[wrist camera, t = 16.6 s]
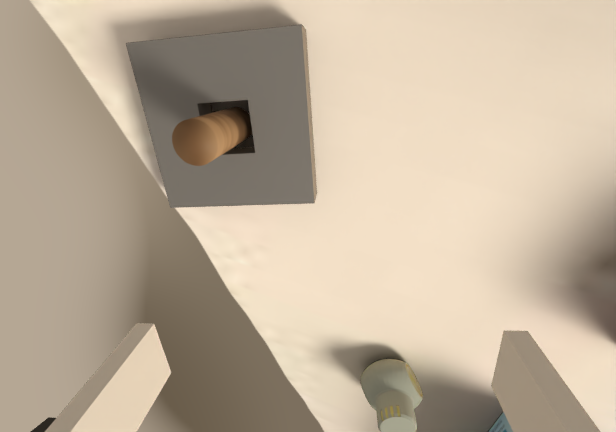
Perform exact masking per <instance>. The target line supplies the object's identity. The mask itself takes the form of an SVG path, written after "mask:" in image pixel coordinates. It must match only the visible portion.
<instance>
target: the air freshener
mask: <svg viewBox="0 0 616 432" xmlns="http://www.w3.org/2000/svg"><path fill="white" fill-rule="evenodd" d="M360 381H361V386H362V389H363V392H364V394H365V396H366V398H367V400H368V402H369V404H370V405H371V406H372V408H373V409H374V410H376V411H377V420H378V428H379V430H380V431H381V432H416V430H417V423H416V418H415V413H414V409H415V408H416V407H417V406H418V405H419V404H420V403H421V401H422V399H423V394H422V390H421V388H420V385H419V383H418V380H417V378H416V376H415V374H414V373H413V371H412V369H411V368H410V366H409V365H408V364H407V363H406V362H403V361H400V360H396V359H384V360H379V361H376V362H374V363H372V364H371V365H369V366H368V367H367V368H366V369H365V370H364V372H363V373H362V376H361V378H360Z"/></svg>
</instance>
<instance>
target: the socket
mask: <svg viewBox="0 0 616 432" xmlns="http://www.w3.org/2000/svg"><path fill="white" fill-rule="evenodd" d="M126 46H127V49H128V53H129V57H130V60H131V64H132V68H133V72H134V75H135V79H136V83H137V86H138V90H139V94H140V97H141V101H142V105H143V108H144V112H145V116H146V120H147V123H148V127H149V131H150V134H151V138H152V142H153V145H154V149H155V153H156V157H157V160H158V164H159V168H160V171H161V175H162V179H163V182H164V186H165V190H166V193H167V197H168V201H169V205H170V207H171V208H174V207H206V206H238V205H271V204H303V203H315V198H316V194H317V188H316V173H315V158H314V143H313V128H312V113H311V98H310V83H309V68H308V53H307V38H306V29H305V28H304V27H303V26H302V25H293V26H284V27H274V28H265V29H255V30H246V31H236V32H227V33H217V34H207V35H198V36H188V37H179V38H169V39H160V40H150V41H141V42H131V43H126ZM238 100H248V105H249V112H250V119H251V126H252V133H253V140H254V147H245V148H232V149H230V150H228V151H227V152H225V153H224V154H222V155H221V156H219V157H217V158H216V159H214V160H213V161H211V162H209V163H208V164H206V165H202V166H194V165H191V164H188V163H186V162H185V161H183V160H182V159H181V158H180V157H179V156H178V155H177V153H176V151H175V149H174V147H173V143H172V134H173V131H174V129H175V127H176V126H177V124H179V123H180V122H181V121H183V120H187V119H191V118H194V117H198V116H202V115H206V114H209V113H212V108H211V103H212V102H225V101H238Z"/></svg>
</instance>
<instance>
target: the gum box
mask: <svg viewBox="0 0 616 432" xmlns="http://www.w3.org/2000/svg"><path fill="white" fill-rule="evenodd" d="M489 432H513V430H512V428H511V426H510V424H509V422H508V420H507V418H506V416H505V414H504V412H503V413H502V414H501V416H500V417H499V418H498V420H497V421H496V422H495V424H494V425H493V426H492V428H491V429H490V430H489Z"/></svg>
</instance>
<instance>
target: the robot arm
mask: <svg viewBox="0 0 616 432" xmlns="http://www.w3.org/2000/svg"><path fill="white" fill-rule="evenodd" d="M170 374H171V371H170V368H169V365H168V362H167V359H166V357H165V354H164V351H163V348H162V345H161V342H160V340H159V337H158V334H157V331H156V328H155V325H154V324H141V323H140V324H138V323H137V324H136V325H135V326H134V327H133V328H132V329H131V331H130V332H129V333H128V334H127V335H126V336H125V338H124V339H123V340H122V341H121V342H120V343H119V345H118V346H117V347H116V348H115V350H114V351H113V352H112V353H111V354H110V355H109V357H108V358H107V359H106V360H105V361H104V362H103V364H102V365H101V366H100V367H99V369H98V370H97V371H96V372H95V373H94V374H93V375H92V377H91V378H90V379H89V380H88V381H87V382H86V384H85V385H84V386H83V387H82V389H81V390H80V391H79V392H78V393H77V394H76V395H75V397H74V398H73V399H72V400H71V401H70V403H69V404H68V405H67V406H66V407H65V408H64V410H63V411H62V412H61V413H60V415H59V416H58V417H57V418H47V419H46V420H45V421H44V422H42V423H41V424H40V425H39V426H37V427H36V428H35V429H34V430H32V431H31V432H137V430H138V428H139V427H140V425H141V423H142V422H143V420H144V418H145V416H146V415H147V413H148V411H149V410H150V408H151V406H152V405H153V403H154V401H155V399H156V398H157V396H158V394H159V393H160V391H161V389H162V387H163V386H164V384H165V382H166V381H167V379H168V377H169V376H170ZM491 386H492V388H493V391H494V393H495V395H496V397H497V399H498V401H499V403H500V405H501V407H502V409H503V412H504V414H505V416H506V418H507V420H508V422H509V424H510V426H511V428H512V430H513V432H600V431H599V429H598V428H597V426H596V425H595V424H594V422H593V421H592V420H591V418H590V417H589V415H588V414H587V413H586V411H585V410H584V408H583V407H582V406H581V404H580V403H579V402H578V400H577V399H576V397H575V396H574V395H573V393H572V392H571V390H570V389H569V388H568V386H567V385H566V384H565V382H564V381H563V379H562V378H561V377H560V375H559V374H558V372H557V371H556V370H555V368H554V367H553V366H552V364H551V363H550V361H549V360H548V359H547V357H546V356H545V354H544V353H543V352H542V350H541V349H540V348H539V346H538V345H537V343H536V342H535V341H534V339H533V338H532V336H531V335H530V334H529V332H528V331H504V332H503V337H502V341H501V345H500V350H499V354H498V359H497V363H496V367H495V372H494V376H493V380H492V385H491Z"/></svg>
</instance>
